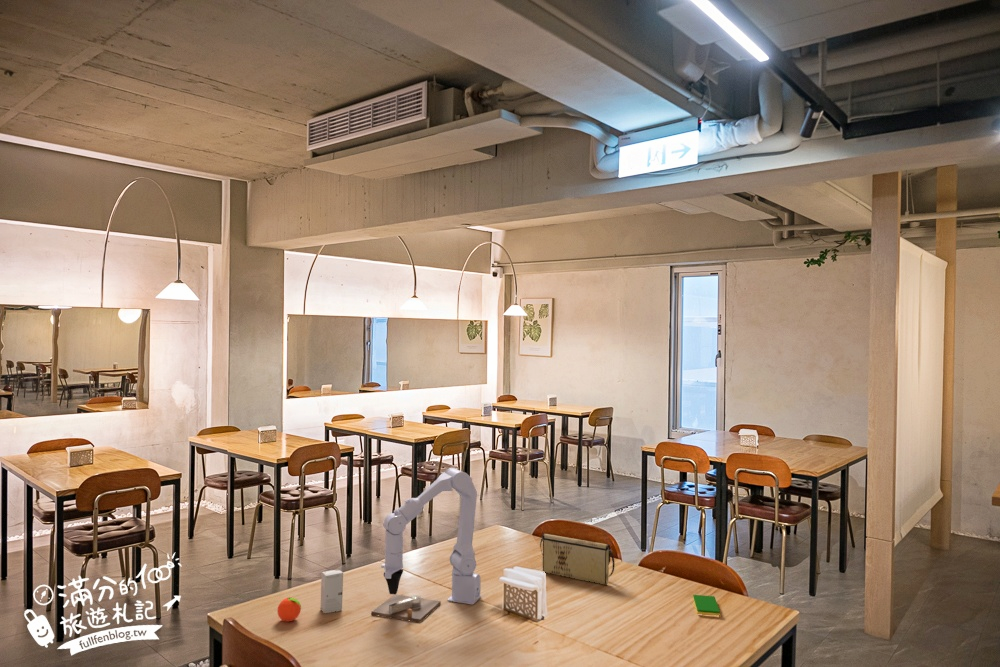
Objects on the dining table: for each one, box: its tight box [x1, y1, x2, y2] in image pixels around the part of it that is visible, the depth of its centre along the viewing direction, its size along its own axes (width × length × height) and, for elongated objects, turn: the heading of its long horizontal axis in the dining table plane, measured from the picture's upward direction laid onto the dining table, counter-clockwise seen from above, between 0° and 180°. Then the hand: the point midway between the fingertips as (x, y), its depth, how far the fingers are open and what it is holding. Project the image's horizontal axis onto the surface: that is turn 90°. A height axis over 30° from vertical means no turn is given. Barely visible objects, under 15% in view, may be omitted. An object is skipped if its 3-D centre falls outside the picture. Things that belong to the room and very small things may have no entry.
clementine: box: [277, 596, 302, 622], centre depth 206 cm, size 8×7×7 cm
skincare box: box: [319, 569, 344, 614], centre depth 215 cm, size 6×4×12 cm
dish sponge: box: [692, 594, 721, 616], centre depth 222 cm, size 7×14×2 cm, turn 169°
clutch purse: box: [539, 533, 615, 586], centre depth 250 cm, size 30×7×15 cm, turn 60°
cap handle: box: [389, 595, 422, 614], centre depth 214 cm, size 12×4×2 cm, turn 136°
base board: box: [370, 593, 441, 623], centre depth 217 cm, size 17×16×3 cm
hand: (393, 593), depth 216 cm, fingers closed
